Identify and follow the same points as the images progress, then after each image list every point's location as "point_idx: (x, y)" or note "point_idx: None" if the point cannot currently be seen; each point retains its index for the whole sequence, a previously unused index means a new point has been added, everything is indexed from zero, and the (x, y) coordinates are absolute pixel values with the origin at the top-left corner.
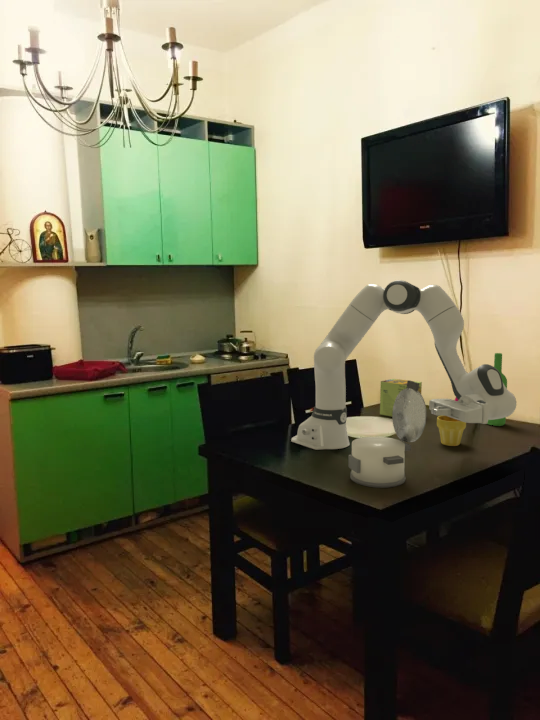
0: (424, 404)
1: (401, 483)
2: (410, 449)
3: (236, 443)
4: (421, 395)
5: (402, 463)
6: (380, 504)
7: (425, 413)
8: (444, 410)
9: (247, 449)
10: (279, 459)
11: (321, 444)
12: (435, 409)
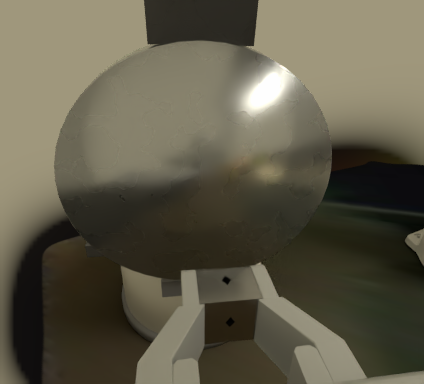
0: (67, 116)
1: (127, 318)
2: (162, 295)
3: (401, 176)
4: (108, 68)
5: (130, 283)
6: (58, 251)
7: (55, 160)
8: (160, 337)
9: (371, 181)
10: (323, 197)
11: (419, 239)
12: (207, 269)
